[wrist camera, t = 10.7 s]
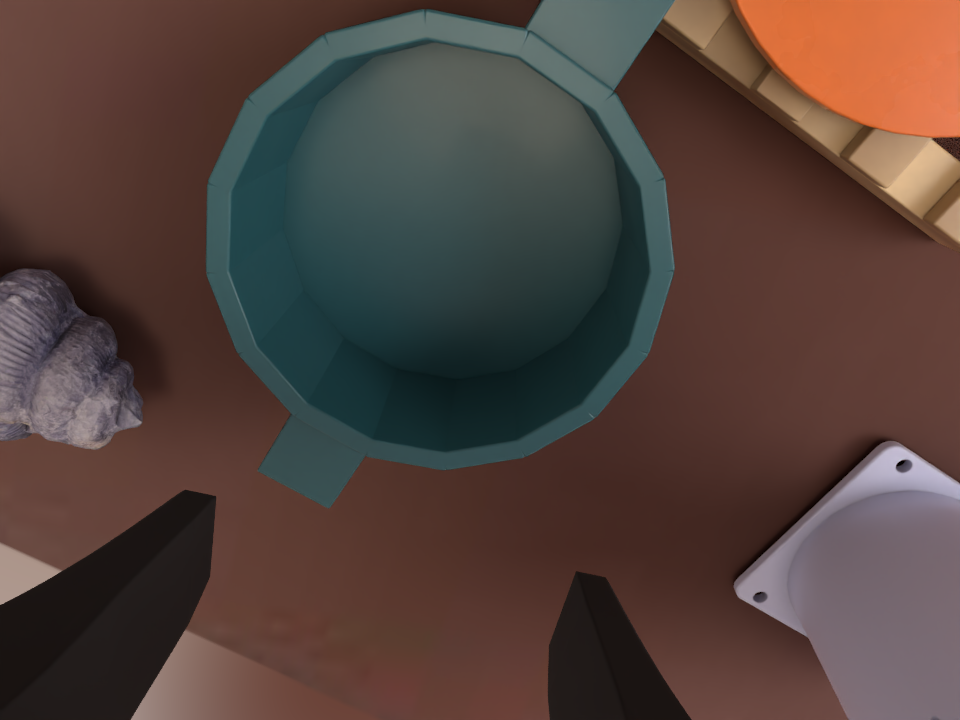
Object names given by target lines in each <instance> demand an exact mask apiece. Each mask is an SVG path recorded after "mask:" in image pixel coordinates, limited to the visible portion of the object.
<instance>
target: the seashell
mask: <svg viewBox="0 0 960 720" xmlns="http://www.w3.org/2000/svg"><path fill="white" fill-rule="evenodd" d="M117 348H118V346H117V340H116V336H115V333H114V331H113V329H112V327H111V325H109V324H108V323H107V322H106V321H105V320H104V319H103V318H100V317H94V316H89V315H87V314H86V313H85V312H83V311H82V310H81V309H79V308H78V307H77V306H76V304H75V302H74V297H73V295H72V293H71V292H70V290H69V288H68V287H67V285H66V284H65V282H64V281H63V280H62V279H60V278H59V277H58V276H57V275H55V274H54V273H52V272H51V271H50V270H41V269H27V268H26V269H25V268H22V269H18V270H16V271H12V272H10V273H7V274H6V275H4V276H3V277H1V278H0V440H1V441H9V440H17V439H22V438H27V437H28V436H30V435H31V434H32V433H39V434H40V435H42V436H43V437H44V438H45V439H46V440H50V441H57V442H62V443H65V444H72V445H73V446H76V447H81V448H86V449H95V450H97V449H100V448H102V447H104V446H105V445H107V444H108V443H109V442H110V441H111V438H112V437H113V435H114V434H115V433H116V432H118V431H120V430H124V429H129V428H133V427H139V426H140V425H141V424H142V421H143V414H142V411H141V408H142V405H143V399H142V397H141V396H140V394H139V392H138V391H137V390H136V389H135V388H134V386H133V380H134V372H133V367H132V366H131V364H130V363H129V362H128V361H126V360H123V359H119V358H118V357H117V356H116V354H117Z"/></svg>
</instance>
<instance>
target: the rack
mask: <svg viewBox="0 0 960 720" xmlns="http://www.w3.org/2000/svg"><path fill="white" fill-rule="evenodd" d="M656 31H657V32H659V33H660V34H661V35H663V36H664V37H665V38H667V39H668V40H669V41H671V42H672V43H673V44H675V45H676V46H677V47H679V48H680V49H681V50H683V51H684V52H685V53H687V54H688V55H689V56H691V57H692V58H693V59H695V60H696V61H697V62H699V63H700V64H701V65H703V66H704V67H705V68H707V69H708V70H709V71H710V72H712V73H713V74H714V75H716V76H717V77H718V78H720V79H721V80H722V81H724V82H725V83H726V84H728V85H729V86H730V87H732V88H733V89H734V90H736V91H737V92H738V93H740V94H741V95H742V96H744V97H745V98H746V99H748V100H749V101H750V102H752V103H753V104H754V105H756V106H757V107H758V108H760V109H761V110H762V111H764V112H765V113H766V114H768V115H769V116H770V117H772V118H773V119H774V120H776V121H777V122H778V123H780V124H781V125H782V126H784V127H785V128H786V129H788V130H789V131H790V132H792V133H793V134H794V135H796V136H797V137H798V138H799V139H801V140H802V141H803V142H805V143H806V144H807V145H809V146H810V147H811V148H813V149H814V150H815V151H817V152H818V153H819V154H821V155H822V156H823V157H825V158H826V159H827V160H829V161H830V162H831V163H833V164H834V165H835V166H837V167H838V168H839V169H841V170H842V171H843V172H845V173H846V174H847V175H849V176H850V177H851V178H853V179H854V180H855V181H857V182H858V183H859V184H861V185H862V186H863V187H865V188H866V189H867V190H869V191H870V192H871V193H873V194H874V195H875V196H877V197H878V198H879V199H881V200H882V201H883V202H885V203H886V204H887V205H888V206H890V207H891V208H892V209H894V210H895V211H896V212H898V213H899V214H900V215H902V216H903V217H904V218H906V219H907V220H908V221H910V222H911V223H912V224H914V225H915V226H916V227H918V228H919V229H920V230H922V231H923V232H924V233H926V234H927V235H928V236H930V237H931V238H932V239H934V240H935V241H936V242H938V243H940V244H942V245H944V246H946V247H948V248H950V249H952V250H954V251H956V252H958V253H960V161H959V160H957V159H956V158H955V157H953V156H952V155H951V154H950V153H948V152H947V151H946V150H945V149H943V148H942V147H941V146H940V145H938V144H937V143H936V142H934V141H933V140H932V138H927V137H919V136H911V135H903V134H895V133H891V132H887V131H883V130H879V129H876V128H872V127H868V126H865V125H861V124H858V123H854V122H852V121H850V120H848V119H845V118H843V117H841V116H839V115H836V114H834V113H832V112H830V111H827V110H825V109H824V108H822V107H821V106H819V105H818V104H816V103H815V102H813V101H812V100H810V99H808V98H807V97H805V96H804V95H802V94H801V93H799V92H798V91H797V90H796V89H795V88H794V87H792V86H791V85H790V84H789V83H788V82H787V81H786V80H785V79H784V78H782V77H781V76H780V75H779V74H778V73H777V72H776V71H775V70H774V69H773V68H772V67H771V65H770V64H769V63H768V62H767V61H766V59H765V58H764V57H763V56H762V54H761V53H760V52H759V51H758V49H757V48H756V47H755V46H754V45H753V43H752V41H751V40H750V38H749V36H748V35H747V33H746V31H745V29H744V28H743V26H742V24H741V23H740V21H739V19H738V18H737V16H736V14H735V12H734V9H733V7H732V5H731V2H730V0H675V2H674V3H673V5H672V6H671V7H670V9H669V10H668V12H667V13H666V15H665V16H664V18H663V19H662V21H661V22H660V24H659V25H658V27H657V28H656Z"/></svg>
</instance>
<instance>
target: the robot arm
mask: <svg viewBox="0 0 960 720" xmlns="http://www.w3.org/2000/svg"><path fill="white" fill-rule="evenodd" d="M901 460H906V461H905V462H904V464H902V465H900V466H896V465H897V463H898V462H900V461H901ZM215 507H216V496H212V495H208V494H203V493H198V492H193V491H188V490H184V491H182V492H180V493H179V494H177V495H176V496H175V497H173V498H172V499H170V500H169V501H167V502H166V503H165V504H163V505H162V506H160V507H159V508H158V509H156V510H155V511H153V512H152V513H151V514H149V515H148V516H146V517H145V518H143V519H142V520H141V521H139V522H138V523H136V524H135V525H133V526H132V527H130V528H129V529H128V530H126V531H125V532H123V533H122V534H120V535H119V536H117V537H116V538H114V539H113V540H111V541H110V542H108V543H107V544H105V545H104V546H102V547H101V548H99V549H97V550H96V551H94V552H93V553H91V554H90V555H88V556H87V557H85V558H83V559H82V560H80V561H78V562H77V563H75V564H73V565H72V566H70V567H68V568H67V569H65V570H63V571H62V572H60V573H58V574H57V575H55V576H54V577H52V578H50V579H48V580H47V581H45V582H43V583H41V584H39V585H38V586H36V587H34V588H32V589H30V590H29V591H27V592H25V593H23V594H21V595H19V596H17V597H15V598H13V599H12V600H10V601H8V602H6V603H4V604H2V605H0V720H131V718H132V716H133V715H134V713H135V711H136V710H137V708H138V706H139V705H140V703H141V701H142V700H143V698H144V697H145V695H146V693H147V691H148V690H149V688H150V687H151V685H152V684H153V682H154V680H155V679H156V677H157V675H158V674H159V672H160V670H161V669H162V667H163V665H164V664H165V662H166V660H167V659H168V657H169V656H170V654H171V652H172V651H173V649H174V647H175V646H176V644H177V642H178V641H179V639H180V637H181V636H182V634H183V632H184V631H185V629H186V627H187V626H188V624H189V622H190V619H191V617H192V615H193V613H194V611H195V609H196V607H197V605H198V602H199V600H200V598H201V596H202V593H203V591H204V589H205V587H206V584H207V582H208V580H209V578H210V570H211V557H212V545H213V532H214V519H215ZM734 589H735V591H736V594H737V596H738V597H739V598H740V599H742V600H744V601H745V602H747V603H749V604H750V605H752V606H754V607H756V608H757V609H759V610H761V611H763V612H764V613H766V614H768V615H770V616H771V617H773V618H775V619H777V620H778V621H780V622H782V623H784V624H785V625H787V626H789V627H791V628H792V629H794V630H796V631H798V632H799V633H801V634H803V635H805V636H806V637H808V638H809V640H810V642H811V644H812V646H813V648H814V650H815V653H816V655H817V657H818V659H819V661H820V663H821V665H822V667H823V669H824V671H825V673H826V675H827V677H828V679H829V681H830V683H831V685H832V687H833V689H834V691H835V693H836V695H837V697H838V699H839V701H840V703H841V705H842V708H843V710H844V712H845V714H846V716H847V718H848V720H960V483H959V482H957V481H956V480H954V479H953V478H951V477H950V476H948V475H947V474H945V473H944V472H942V471H941V470H939V469H938V468H936V467H935V466H933V465H932V464H930V463H929V462H927V461H926V460H924V459H923V458H921V457H920V456H918V455H917V454H915V453H914V452H912V451H911V450H909V449H908V448H906V447H905V446H903V445H902V444H900V443H898V442H896V441H887V442H883V443H881V444H880V445H878V446H877V447H876V448H875V449H874V450H873V451H872V452H871V453H870V454H869V455H868V456H866V457H865V458H864V459H863V460H862V461H861V462H860V463H859V464H858V465H857V466H856V467H855V468H854V469H853V470H852V471H851V472H850V473H848V474H847V475H846V476H845V477H844V478H843V479H842V480H841V481H840V482H839V483H838V484H837V485H836V486H835V487H834V488H833V489H832V490H830V491H829V492H828V493H827V494H826V495H825V496H824V497H823V498H822V499H821V500H820V501H819V502H818V503H817V504H816V505H815V506H814V507H812V508H811V509H810V510H809V511H808V512H807V513H806V514H805V515H804V516H803V517H802V518H801V519H800V520H799V521H798V522H797V523H796V524H794V525H793V526H792V527H791V528H790V529H789V530H788V531H787V532H786V533H785V534H784V535H783V536H782V537H781V538H780V539H779V540H778V541H776V542H775V543H774V544H773V545H772V546H771V547H770V548H769V549H768V550H767V551H766V552H765V553H764V554H763V555H762V556H761V557H759V558H758V559H757V560H756V561H755V562H754V563H753V564H752V565H751V566H750V567H749V568H748V569H747V570H746V571H745V572H744V573H743V574H741V575H740V576H739V577H738V578H737V579H736V581H735V582H734ZM758 592H763V593H761V594H759V595H755V594H756V593H758ZM548 703H549V714H550V720H691V718H690V717H689V716H688V714H687V713H686V711H685V710H684V708H683V707H682V706H681V704H680V703H679V701H678V700H677V698H676V697H675V695H674V694H673V692H672V691H671V689H670V688H669V686H668V685H667V683H666V681H665V680H664V678H663V677H662V675H661V674H660V672H659V670H658V669H657V667H656V665H655V664H654V662H653V660H652V659H651V657H650V655H649V654H648V652H647V650H646V649H645V647H644V645H643V644H642V642H641V640H640V638H639V637H638V635H637V633H636V631H635V629H634V628H633V626H632V624H631V622H630V620H629V619H628V617H627V615H626V613H625V611H624V610H623V608H622V606H621V604H620V602H619V600H618V598H617V597H616V595H615V593H614V591H613V589H612V587H611V585H610V584H609V582H608V580H607V579H606V577H601V576H596V575H591V574H586V573H582V572H577V571H576V573H575V576H574V579H573V581H572V584H571V587H570V590H569V592H568V595H567V598H566V601H565V603H564V606H563V609H562V612H561V614H560V617H559V620H558V622H557V625H556V628H555V631H554V633H553V636H552V639H551V642H550V644H549V666H548Z"/></svg>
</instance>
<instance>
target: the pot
mask: <svg viewBox="0 0 960 720" xmlns="http://www.w3.org/2000/svg"><path fill="white" fill-rule="evenodd" d="M674 2H675V0H541V2H540V3H539V5H538V7H537V8H536V10H535V12H534V13H533V15H532V17H531V18H530V20H529V22H528V23H527V25H526V26H525V28H522V27H517V26H512V25H507V24H502V23H497V22H492V21H487V20H482V19H477V18H472V17H467V16H462V15H457V14H452V13H447V12H442V11H437V10H432V9H425V10H424V9H419V10H415V11H411V12H407V13H403V14H398V15H394V16H390V17H386V18H382V19H378V20H374V21H370V22H366V23H362V24H358V25H354V26H350V27H346V28H342V29H338V30H334V31H330V32H326V33H325V34H324V35H321V36H319V37H318V38H317V39H316V40H315V41H313V42H312V43H311V44H310V45H308V46H307V47H306V48H305V49H304V50H302V51H301V52H300V53H299V54H298V55H296V56H295V57H294V58H293V59H292V60H290V61H289V62H288V63H287V64H286V65H284V66H283V67H282V68H281V69H280V70H278V71H277V72H276V73H275V74H273V75H272V76H271V77H270V78H269V79H267V80H266V81H265V82H264V83H263V84H261V85H260V86H259V87H258V88H257V89H255V90H254V91H253V92H252V93H251V94H249V96H248V98H247V99H245V101H244V104H243V106H242V108H241V110H240V112H239V114H238V117H237V119H236V121H235V123H234V125H233V127H232V129H231V132H230V134H229V136H228V138H227V140H226V142H225V145H224V147H223V149H222V151H221V153H220V155H219V157H218V160H217V162H216V164H215V166H214V168H213V170H212V172H211V175H210V177H209V179H208V184H207V222H206V272H207V278H208V280H209V283H210V285H211V288H212V291H213V293H214V296H215V298H216V301H217V303H218V306H219V308H220V311H221V313H222V316H223V319H224V321H225V324H226V326H227V329H228V331H229V334H230V336H231V339H232V342H233V344H234V347H235V349H236V352H237V353H239V356H240V357H241V358H242V359H243V361H244V362H245V363H246V364H247V365H248V366H249V367H250V368H251V369H252V371H253V372H254V373H255V374H256V375H257V376H258V377H259V378H260V380H261V381H262V382H263V383H264V384H265V385H266V386H267V387H268V388H269V390H270V391H271V392H272V393H273V394H274V395H275V396H276V397H277V398H278V400H279V401H280V402H281V403H282V404H283V405H284V406H285V407H286V409H287V410H288V411H289V412H290V413H291V415H290V417H289V418H288V420H287V421H286V423H285V425H284V426H283V428H282V430H281V431H280V433H279V435H278V436H277V438H276V440H275V441H274V443H273V445H272V446H271V448H270V450H269V451H268V453H267V455H266V456H265V458H264V460H263V461H262V463H261V465H260V466H259V468H258V472H260V473H262V474H264V475H266V476H268V477H270V478H272V479H273V480H275V481H277V482H279V483H281V484H283V485H285V486H287V487H289V488H291V489H292V490H294V491H296V492H298V493H300V494H302V495H304V496H306V497H308V498H309V499H311V500H313V501H315V502H317V503H319V504H321V505H323V506H325V507H327V508H330V507H331V506H332V504H333V503H334V501H335V500H336V498H337V497H338V495H339V494H340V493H341V491H342V490H343V488H344V487H345V485H346V484H347V482H348V481H349V479H350V478H351V476H352V475H353V473H354V472H355V471H356V469H357V468H358V466H359V465H360V463H361V462H362V460H363V459H364V457H365V456H367V457H371V458H376V459H382V460H388V461H393V462H399V463H405V464H410V465H416V466H422V467H427V468H433V469H439V470H445V469H446V470H451V469H457V468H464V467H470V466H476V465H482V464H488V463H495V462H501V461H507V460H513V459H520V458H523V457H524V456H525V457H527V456H529V455H530V454H532V453H534V452H536V451H538V450H539V449H541V448H543V447H545V446H547V445H548V444H550V443H552V442H554V441H556V440H557V439H559V438H561V437H563V436H565V435H566V434H568V433H570V432H572V431H574V430H575V429H577V428H579V427H581V426H583V425H584V424H586V423H588V422H590V421H592V420H593V419H594V418H595V417H597V416H598V415H599V414H600V412H601V411H602V410H603V409H604V408H605V406H606V405H607V404H608V403H609V402H610V400H611V399H612V398H613V397H614V396H615V394H616V393H617V392H618V391H619V390H620V388H621V387H622V386H623V385H624V383H625V382H626V381H627V380H628V379H629V377H630V376H631V375H632V374H633V373H634V371H635V370H636V369H637V368H638V367H639V365H640V364H641V363H642V362H643V361H644V359H645V358H646V357H647V355H648V353H649V352H650V349H651V346H652V343H653V339H654V336H655V333H656V330H657V327H658V323H659V320H660V317H661V314H662V310H663V307H664V304H665V301H666V298H667V294H668V291H669V288H670V285H671V281H672V278H673V275H674V269H675V265H674V256H673V246H672V237H671V228H670V219H669V209H668V200H667V191H666V181H665V179H664V178H663V177H664V176H663V173H662V171H661V170H660V168H659V166H658V164H657V163H656V161H655V159H654V158H653V156H652V154H651V152H650V151H649V149H648V147H647V145H646V144H645V142H644V140H643V139H642V137H641V135H640V133H639V132H638V130H637V128H636V126H635V125H634V123H633V121H632V120H631V118H630V116H629V114H628V113H627V111H626V109H625V107H624V106H623V104H622V102H621V100H620V99H619V97H618V95H617V94H616V93H615V92H613V91H614V90H615V88H616V87H617V85H618V84H619V82H620V81H621V79H622V78H623V77H624V75H625V74H626V72H627V71H628V69H629V68H630V66H631V65H632V63H633V62H634V60H635V59H636V57H637V56H638V54H639V53H640V52H641V50H642V49H643V47H644V46H645V44H646V43H647V41H648V40H649V38H650V37H651V35H652V34H653V32H654V31H655V30H656V28H657V27H658V25H659V24H660V22H661V21H662V19H663V18H664V16H665V15H666V13H667V12H668V10H669V9H670V7H671V6H672V5H673V3H674Z"/></svg>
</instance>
